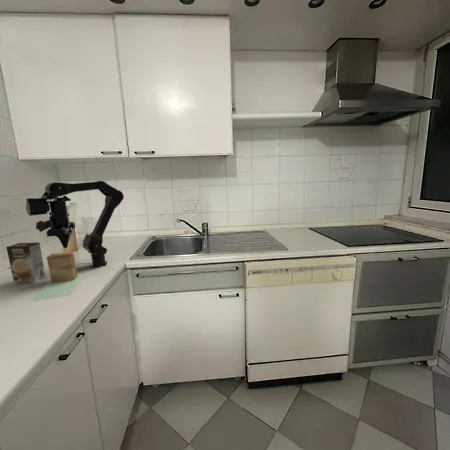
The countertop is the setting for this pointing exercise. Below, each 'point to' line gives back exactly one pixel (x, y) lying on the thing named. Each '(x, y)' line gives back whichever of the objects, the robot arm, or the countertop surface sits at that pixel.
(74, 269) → the walnut block
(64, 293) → the mat
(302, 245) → the countertop surface
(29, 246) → the coffee box
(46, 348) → the countertop surface
